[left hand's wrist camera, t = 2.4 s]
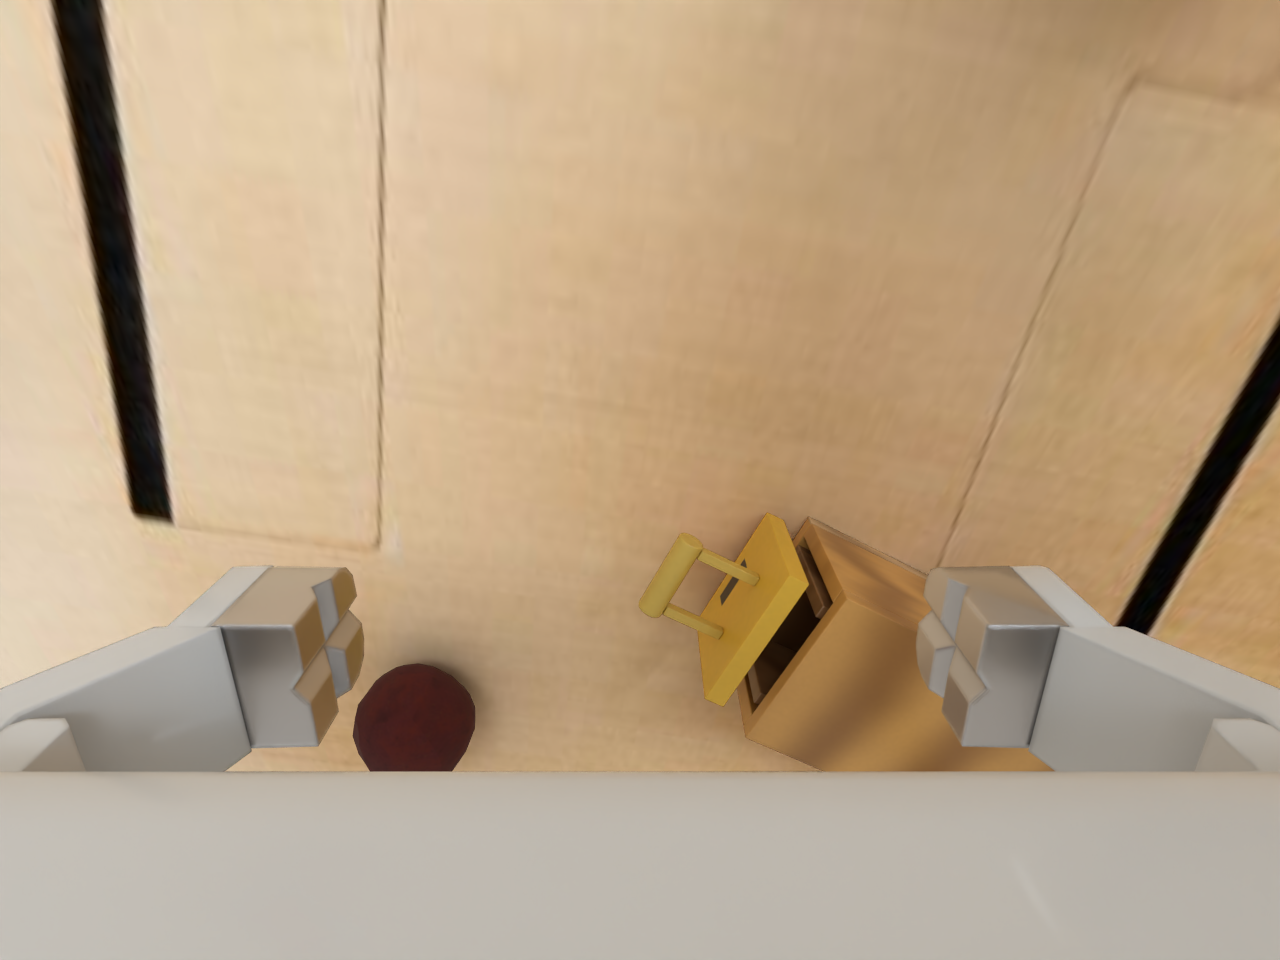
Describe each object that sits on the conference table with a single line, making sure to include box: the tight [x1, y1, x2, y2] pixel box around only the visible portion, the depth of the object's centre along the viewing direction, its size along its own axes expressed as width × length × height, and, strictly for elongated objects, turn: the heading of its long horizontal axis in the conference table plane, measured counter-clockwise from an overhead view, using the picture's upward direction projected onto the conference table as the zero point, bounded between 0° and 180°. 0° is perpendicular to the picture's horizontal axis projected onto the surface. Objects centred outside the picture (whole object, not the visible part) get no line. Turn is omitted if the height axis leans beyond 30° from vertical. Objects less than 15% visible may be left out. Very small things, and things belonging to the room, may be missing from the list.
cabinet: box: [737, 516, 1054, 771], centre depth 43 cm, size 21×10×10 cm, turn 63°
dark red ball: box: [353, 664, 475, 772], centre depth 46 cm, size 7×8×7 cm
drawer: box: [639, 513, 833, 707], centre depth 42 cm, size 24×9×8 cm, turn 63°
